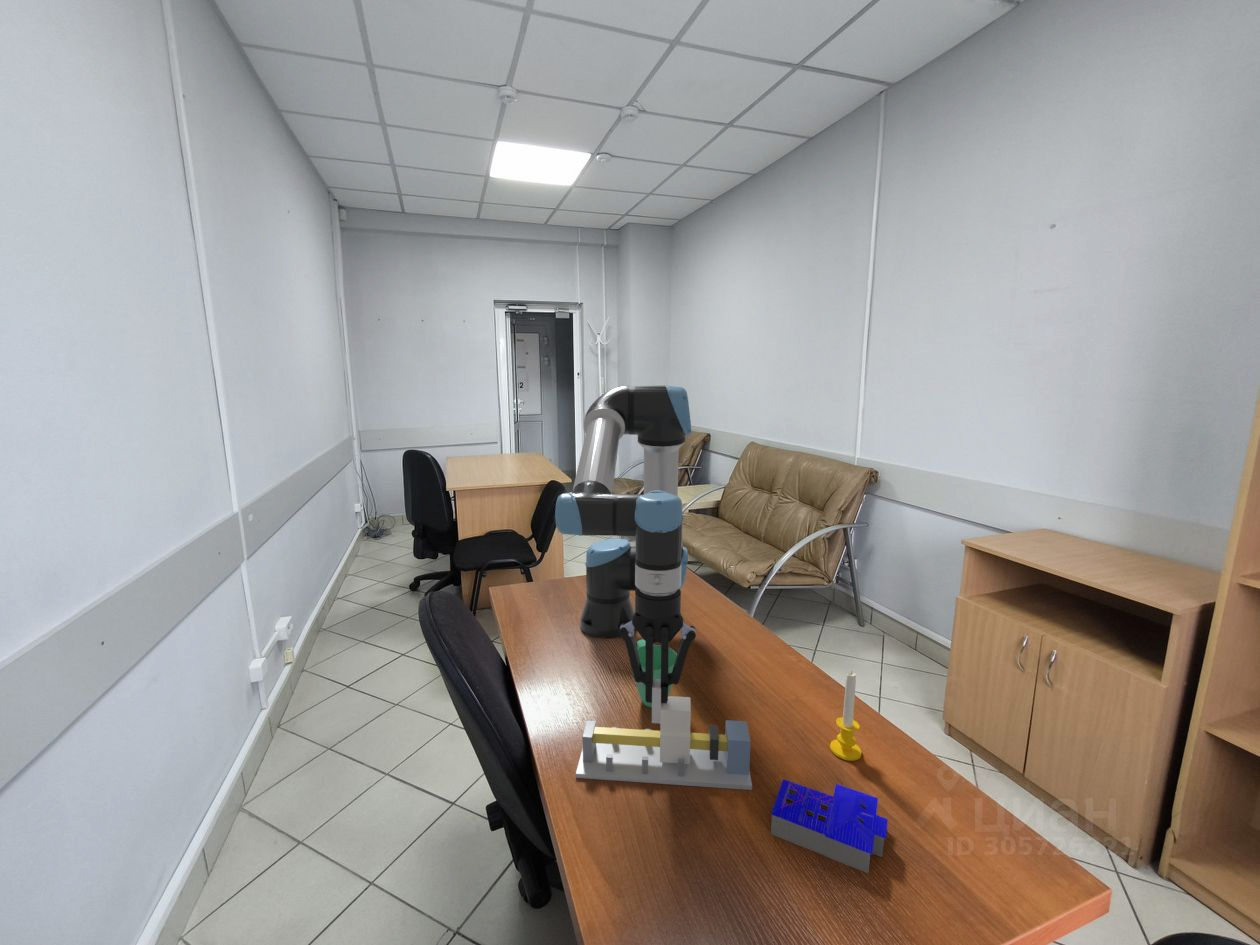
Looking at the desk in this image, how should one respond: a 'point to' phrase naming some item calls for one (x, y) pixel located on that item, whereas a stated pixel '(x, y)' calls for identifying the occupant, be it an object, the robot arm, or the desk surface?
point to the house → (830, 823)
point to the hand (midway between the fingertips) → (656, 718)
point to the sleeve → (675, 730)
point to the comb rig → (639, 761)
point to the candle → (847, 725)
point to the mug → (656, 667)
